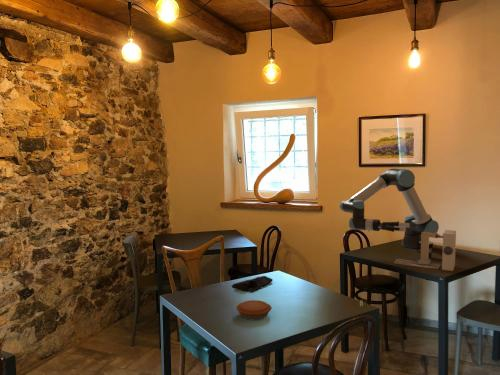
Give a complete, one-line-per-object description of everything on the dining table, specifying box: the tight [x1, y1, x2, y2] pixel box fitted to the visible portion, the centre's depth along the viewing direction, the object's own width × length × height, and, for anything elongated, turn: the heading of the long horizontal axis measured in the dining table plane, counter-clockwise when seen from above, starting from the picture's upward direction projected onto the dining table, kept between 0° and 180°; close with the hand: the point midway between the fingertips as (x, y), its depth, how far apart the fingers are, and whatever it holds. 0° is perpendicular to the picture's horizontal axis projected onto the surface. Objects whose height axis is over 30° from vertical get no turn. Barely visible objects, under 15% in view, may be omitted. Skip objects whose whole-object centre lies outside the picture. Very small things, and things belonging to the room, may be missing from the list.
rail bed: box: [393, 258, 442, 270], centre depth 273 cm, size 11×26×1 cm, turn 60°
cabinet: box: [441, 229, 457, 272], centre depth 263 cm, size 13×6×22 cm, turn 150°
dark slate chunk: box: [231, 275, 274, 293], centre depth 233 cm, size 15×22×5 cm
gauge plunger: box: [435, 232, 443, 239], centre depth 264 cm, size 3×10×3 cm, turn 60°
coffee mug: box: [415, 241, 434, 260], centre depth 290 cm, size 12×9×10 cm
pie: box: [235, 299, 273, 320], centre depth 192 cm, size 16×16×5 cm
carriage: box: [417, 232, 436, 265], centre depth 269 cm, size 7×9×19 cm
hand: (407, 227), depth 274 cm, fingers open, 13 cm apart
